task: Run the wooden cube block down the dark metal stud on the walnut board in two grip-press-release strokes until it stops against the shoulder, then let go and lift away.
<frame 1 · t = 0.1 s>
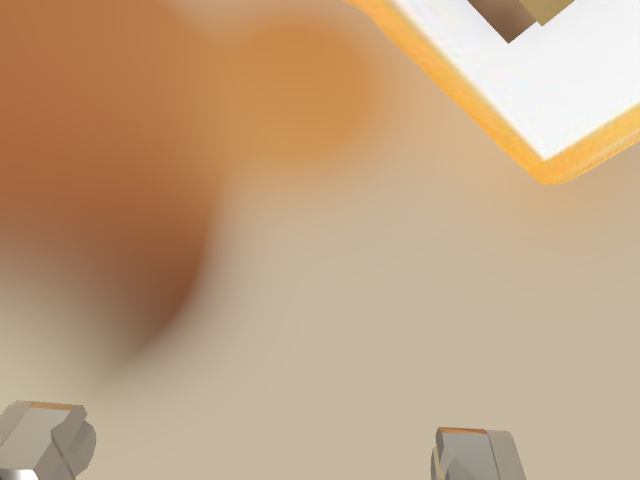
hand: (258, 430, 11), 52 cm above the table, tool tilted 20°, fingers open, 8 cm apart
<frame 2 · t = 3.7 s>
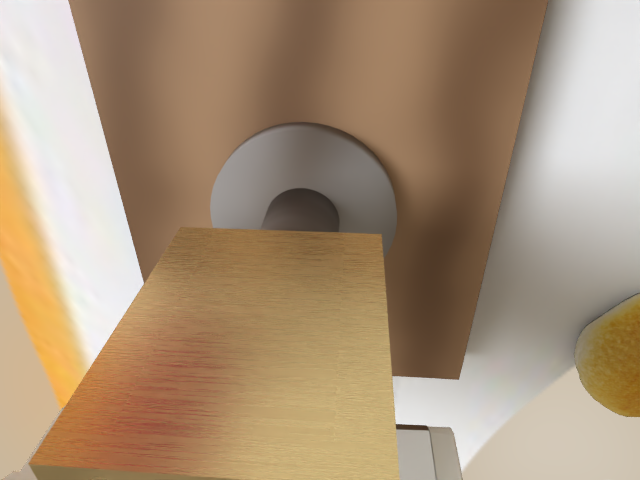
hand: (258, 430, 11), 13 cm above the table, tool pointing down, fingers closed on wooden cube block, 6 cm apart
wooden cube block: (264, 402, 11), point 12 cm above the table, slide at 0.0 cm, touching gripper
walnut board: (310, 183, 22), on the table
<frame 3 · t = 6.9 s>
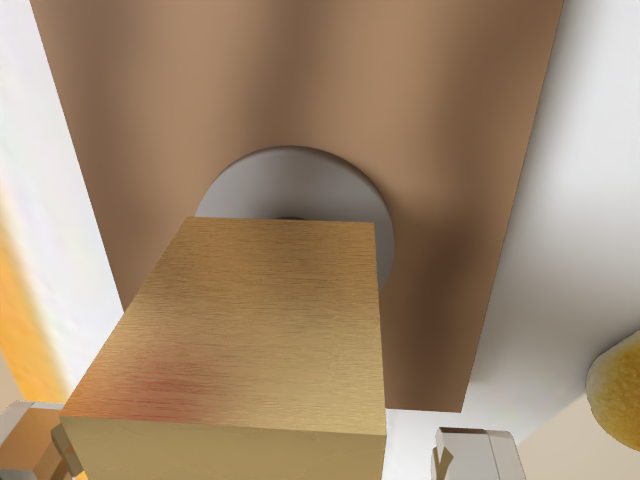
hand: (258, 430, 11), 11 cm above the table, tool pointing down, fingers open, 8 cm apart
wooden cube block: (265, 376, 12), point 10 cm above the table, slide at 2.8 cm
walnut board: (302, 207, 20), on the table
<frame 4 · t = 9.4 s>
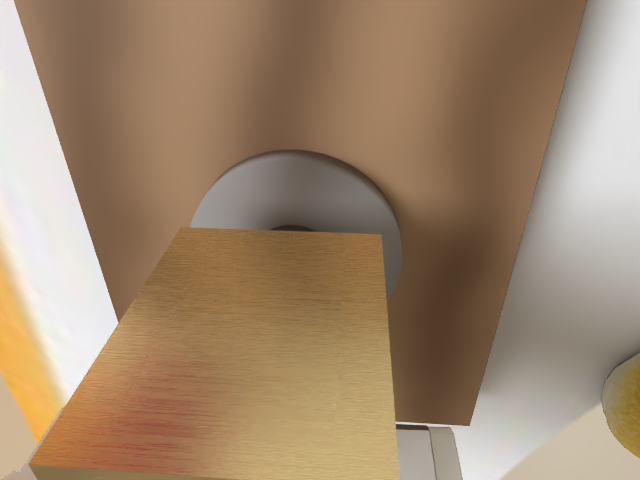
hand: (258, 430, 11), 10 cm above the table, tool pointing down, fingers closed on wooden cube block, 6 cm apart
wooden cube block: (264, 402, 11), point 10 cm above the table, slide at 2.8 cm, touching gripper
walnut board: (304, 213, 19), on the table
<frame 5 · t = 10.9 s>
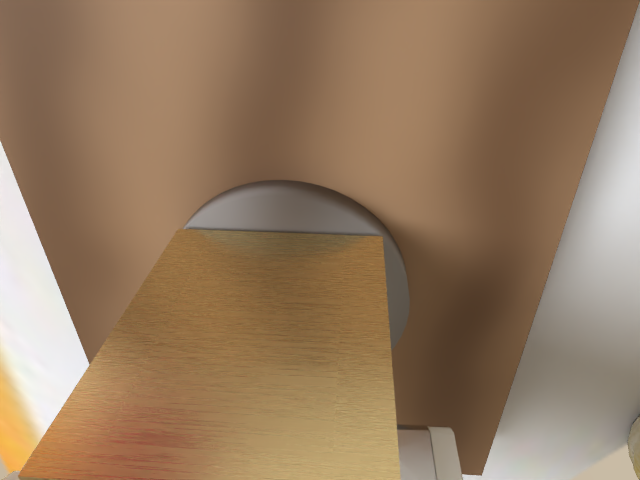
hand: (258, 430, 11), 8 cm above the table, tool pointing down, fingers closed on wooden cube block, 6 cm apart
wooden cube block: (262, 408, 11), point 7 cm above the table, slide at 5.1 cm, touching gripper
walnut board: (297, 244, 17), on the table
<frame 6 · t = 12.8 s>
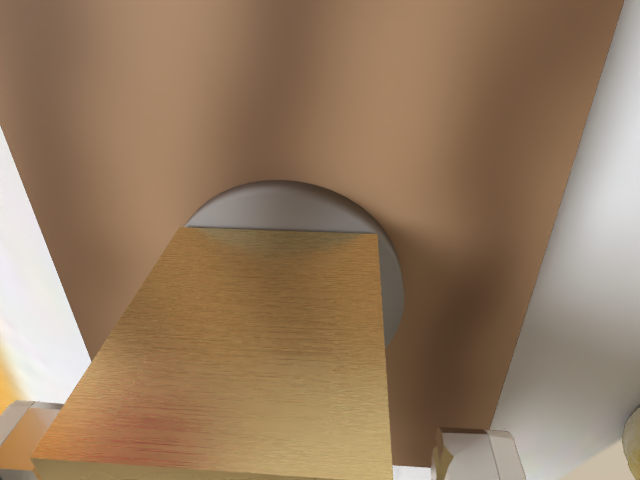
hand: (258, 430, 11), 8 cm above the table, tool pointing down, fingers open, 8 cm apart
wooden cube block: (261, 399, 11), point 7 cm above the table, slide at 5.1 cm
walnut board: (295, 243, 17), on the table
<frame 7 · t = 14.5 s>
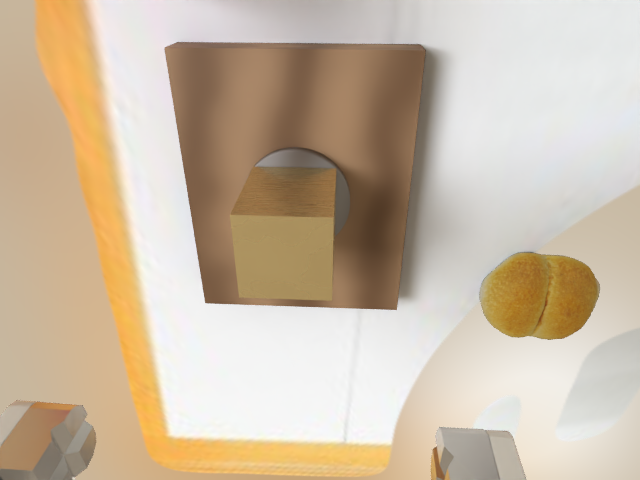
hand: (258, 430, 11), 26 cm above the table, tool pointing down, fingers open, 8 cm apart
bread roll: (532, 286, 39), on the table
wooden cube block: (290, 229, 29), point 7 cm above the table, slide at 5.1 cm
walnut board: (300, 183, 35), on the table
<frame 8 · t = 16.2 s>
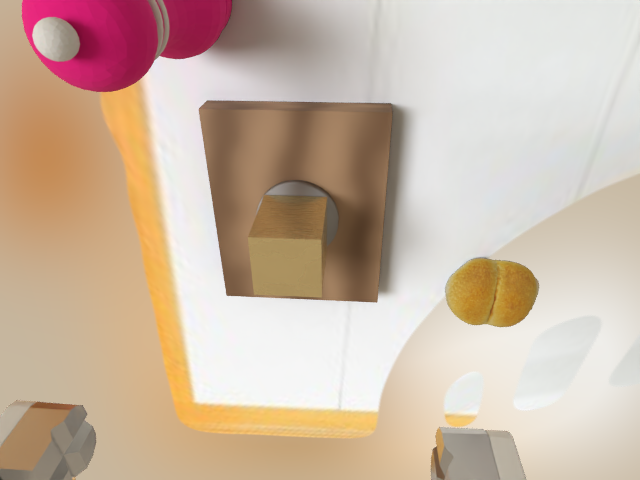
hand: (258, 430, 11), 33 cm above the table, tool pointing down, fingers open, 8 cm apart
bread roll: (488, 284, 49), on the table
wooden cube block: (291, 244, 39), point 7 cm above the table, slide at 5.1 cm
walnut board: (301, 204, 45), on the table
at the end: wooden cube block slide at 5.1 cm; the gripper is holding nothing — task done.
